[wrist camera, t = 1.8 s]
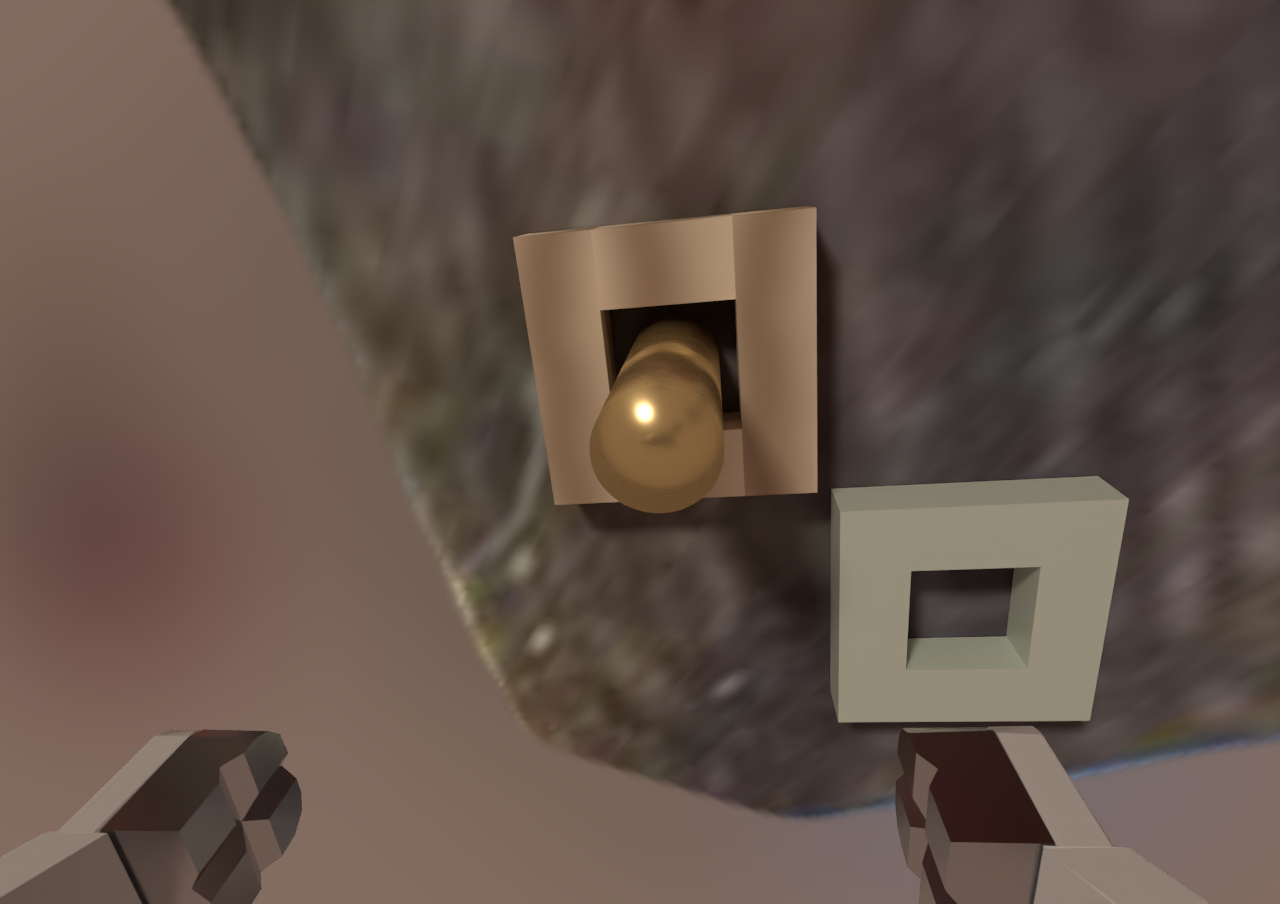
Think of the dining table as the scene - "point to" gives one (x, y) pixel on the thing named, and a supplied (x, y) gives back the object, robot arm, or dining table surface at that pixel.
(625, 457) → the pin
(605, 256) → the birch mount
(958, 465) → the dining table surface
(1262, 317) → the dining table surface
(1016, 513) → the socket block
